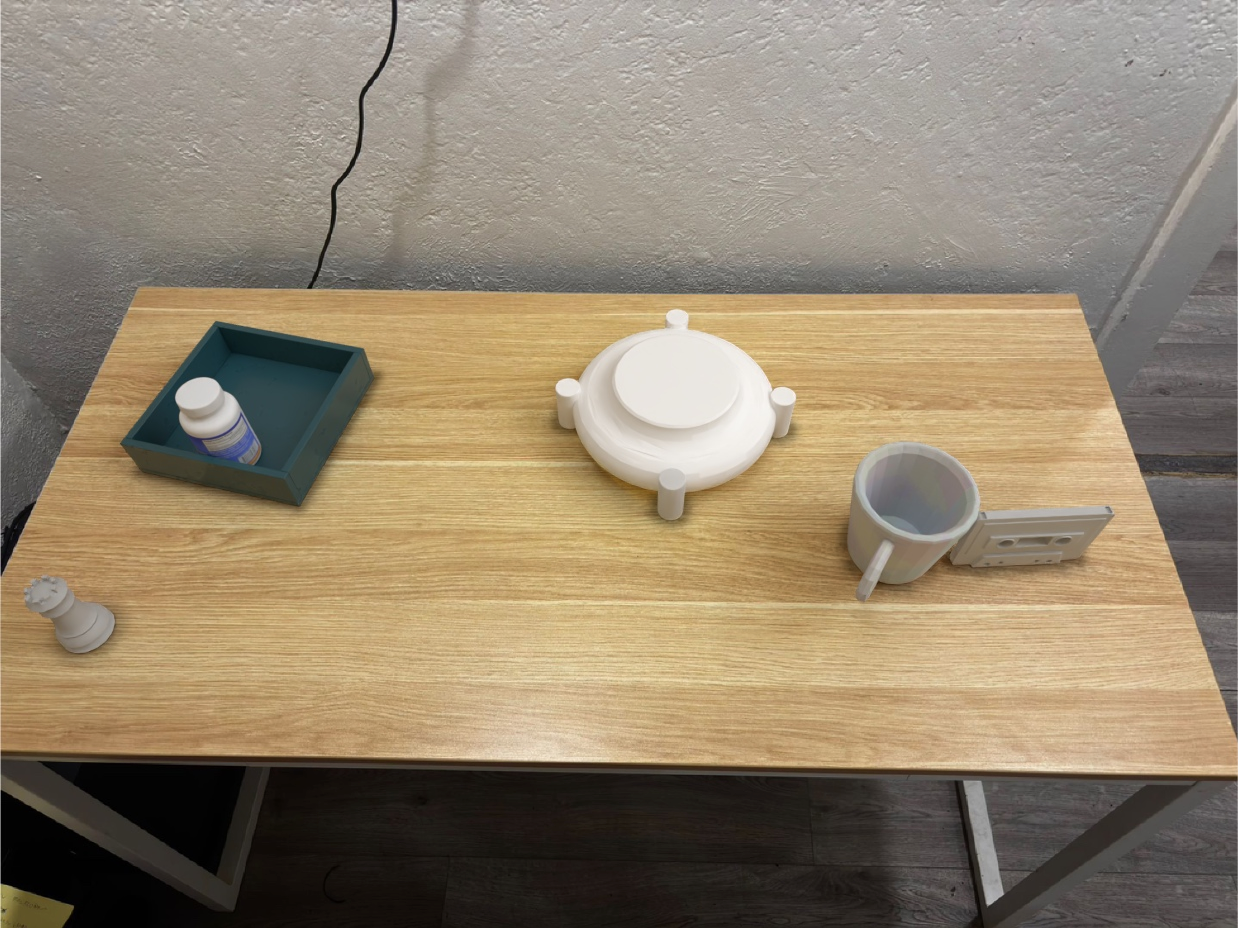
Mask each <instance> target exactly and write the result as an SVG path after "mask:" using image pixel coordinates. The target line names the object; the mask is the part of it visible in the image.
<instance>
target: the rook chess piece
mask: <svg viewBox="0 0 1238 928" xmlns="http://www.w3.org/2000/svg"><path fill="white" fill-rule="evenodd" d="M29 584H30V585H31V586H30V587H24V588H23V590H22V591H23V592H22V594H23V595H25V596H24V597H23V599H24V604H25V608H27V609H28V610H29V611H30V612H33V613H38V614H40V616H41V617H42V618H46V619H49V620H50V621H51V622H52V624H53V625H54V630H55V637H56V640H57V641H58V643H60V645H61V646H62V647H63V648H65V649H66V651H67V652H71V653H74V654H82V653H83V654H84V653H88V652H91V651H93V650H96V649H98V648H100V647H101V646H102V645H104V644H105V643H106V642H107V641H108V639H109V638H110V637H111V635H112V634H113V631H114V627H115V625H116V621H115V616H114V614H113V613H112V612H111V610H110V609H109V608H106V607H105V606H104V604H103V605H102V604H100V603H97V602H93V601H86V600H85V601H83V600H81V599H79V598H77V597H76V596H75V593H74V591H73V590H72V589H70V588H69V587H68V582H67V580H65V579H64V578H62V577H59V576H49V574H42V575H41V576H40V579H39V580H38V579H37V578H36V577H34V578H33V579H31V580H30V581H29Z"/></svg>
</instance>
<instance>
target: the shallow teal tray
mask: <svg viewBox="0 0 1238 928" xmlns="http://www.w3.org/2000/svg"><path fill="white" fill-rule="evenodd" d="M200 377H207V378H211V379H214V380H215V381H217V382H218V384H219V385H220V387H221V388H222V390H223V391H225V392H228V393H229V394H231V395H232V396H234V398H235V399H236V400H237V402H238V404H239V405H240V407H241V409H242V411H243V413H244V415H245V417H246V418H247V420H248V422H249V424H250V426H251V427H252V429H253V431H254V433H255V434H256V436H257V438H258V440H259V442H260V444H261V455H260V457H259V459H258V461H257V462H256V464H255V465H249V464H245V463H240V462H235V461H231V460H226V459H221V458H217V457H212V456H207V455H203V454H199V452H198V451H197V449H196V447H195V446H194V444H193V443H192V441H191V440H190V438H189V437H188V435H187V434H186V432H185V431H184V429H183V428H182V426H181V424H180V421H179V414H180V409H179V407H178V405H177V403H176V400H175V396H176V393H177V391H178V389H179V388H180V387H181V386H182V385H183V384H185V383H186V382H188V381H190V380H192V379H195V378H200ZM374 380H375V375H374V373H373V370H372V367H371V364H370V361H369V359H368V355H367V353H366V350H365V348H364V347H359V346H353V345H349V344H342V343H337V342H332V341H326V340H321V339H315V338H311V337H305V336H300V335H294V334H288V333H285V332H280V331H279V332H278V331H274V330H273V331H272V330H268V329H263V328H257V327H252V326H245V325H241V324H236V323H230V322H224V321H219V320H214V322H213V324H212V325H211V326H210V327H209V328H208V330H207V331H206V332H205V334H204V335H203V336H202V338H201V339H200V340H199V341H198V342H197V344H196V345H195V346H194V348H193V349H192V350H191V352H189V354H188V355H187V356H186V358H185V359H184V360H183V362H182V363H181V364H180V365H179V367H178V368H177V370H176V371H175V372H174V373H173V375H171V377H170V379H169V380H168V381H167V382H166V383H165V385H163V387H162V389H161V390H160V391H159V392H158V393H157V395H156V396H155V397H154V399H153V400H152V401H151V403H150V404H149V405H148V407H146V409H145V411H144V412H143V413H142V414H141V416H140V417H139V418H138V420H137V421H136V422H135V423H134V424H133V426H131V428H130V430H129V431H128V432H127V434H126V435H125V436H124V437H123V438H122V440H121V442H120V441H119V445H120V446H121V447H122V448H123V450H124V451H125V453H126V454H127V455H128V456H129V457H130V458H131V460H132V461H133V463H135V465H136V466H137V468H138V469H139V470H140V471H141V472H142V473H146V474H151V475H156V476H159V477H165V478H168V479H169V478H170V479H173V480H178V481H183V482H188V483H191V484H196V485H201V486H206V487H209V488H214V489H219V490H223V491H227V492H231V493H232V492H233V493H237V494H242V495H246V496H250V497H256V498H259V499H260V498H261V499H264V500H269V501H274V502H278V503H282V504H286V505H291V506H296V507H301V505H302V503H303V501H304V500H305V498H306V496H307V494H308V493H309V491H310V489H311V487H312V486H313V484H314V482H315V480H316V479H317V477H318V475H320V472H321V470H322V469H323V467H324V466H325V464H326V462H327V460H328V459H329V457H330V455H331V454H332V451H333V450H334V448H335V447H336V445H337V443H338V441H339V439H340V438H341V436H342V434H343V432H344V431H345V429H346V428H347V425H348V424H349V422H350V421H351V419H352V417H353V415H354V414H355V412H356V410H358V409H357V408H358V407H359V405H360V403H361V402H362V400H363V398H364V397H365V395H366V393H367V391H368V390H369V388H370V386H371V385H372V383H373V381H374Z"/></svg>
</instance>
